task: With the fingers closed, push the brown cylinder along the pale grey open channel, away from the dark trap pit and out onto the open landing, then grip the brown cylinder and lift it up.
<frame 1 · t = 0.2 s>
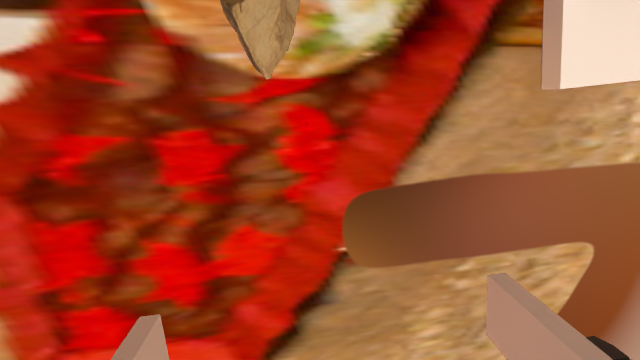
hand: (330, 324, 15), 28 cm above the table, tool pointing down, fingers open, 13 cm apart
rock: (279, 20, 38), on the table
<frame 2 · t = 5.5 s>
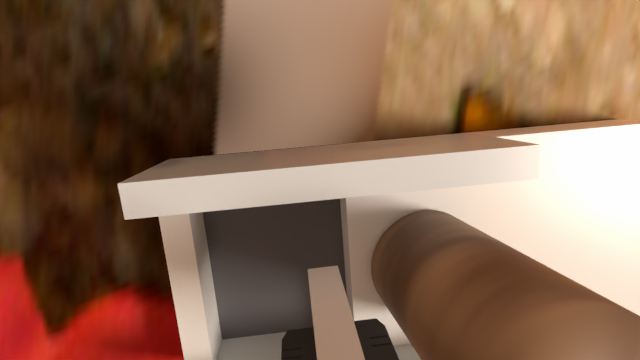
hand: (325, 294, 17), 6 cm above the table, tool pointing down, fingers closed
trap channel: (405, 241, 23), on the table
brown cylinder: (424, 263, 20), point 3 cm above the table, touching gripper, hand, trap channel
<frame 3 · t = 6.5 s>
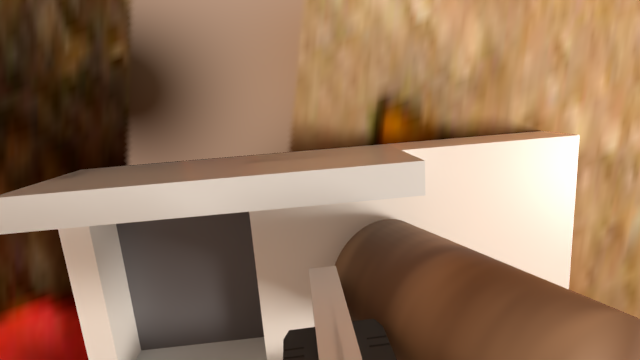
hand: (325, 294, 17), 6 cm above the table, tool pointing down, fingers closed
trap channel: (327, 253, 23), on the table
brown cylinder: (382, 275, 19), point 4 cm above the table, tilted 21°, touching gripper, hand, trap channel
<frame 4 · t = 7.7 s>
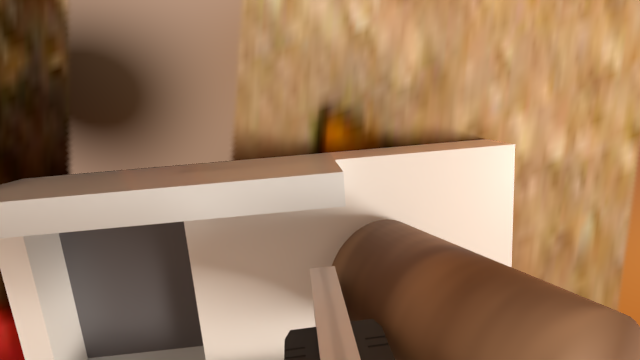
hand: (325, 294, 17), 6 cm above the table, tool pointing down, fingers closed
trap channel: (272, 261, 23), on the table
brown cylinder: (379, 275, 19), point 4 cm above the table, tilted 22°, touching gripper, hand, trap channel
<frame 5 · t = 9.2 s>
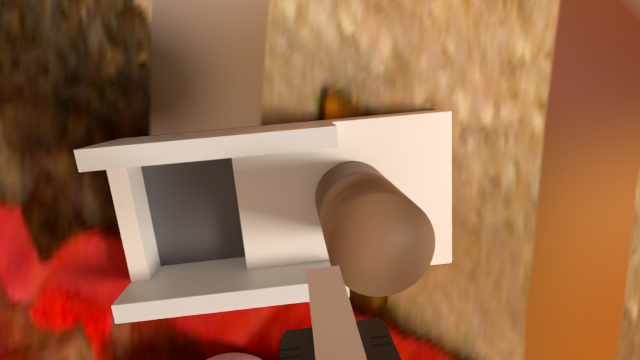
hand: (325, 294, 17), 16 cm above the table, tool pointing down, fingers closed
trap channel: (289, 197, 33), on the table
brown cylinder: (351, 197, 30), point 3 cm above the table, touching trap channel
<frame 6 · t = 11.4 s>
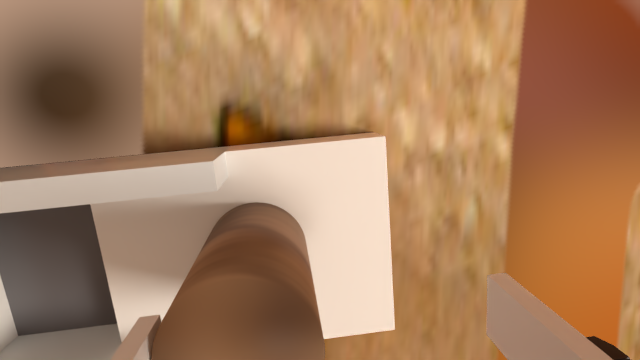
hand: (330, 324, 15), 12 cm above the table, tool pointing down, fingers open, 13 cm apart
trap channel: (186, 245, 25), on the table
brown cylinder: (257, 249, 23), point 3 cm above the table, touching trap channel
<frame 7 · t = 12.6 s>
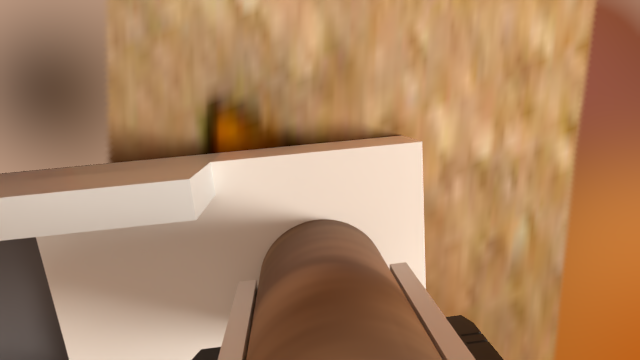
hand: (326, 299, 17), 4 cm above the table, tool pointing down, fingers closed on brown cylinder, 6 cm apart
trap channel: (166, 276, 20), on the table
brown cylinder: (322, 278, 18), point 3 cm above the table, touching gripper, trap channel
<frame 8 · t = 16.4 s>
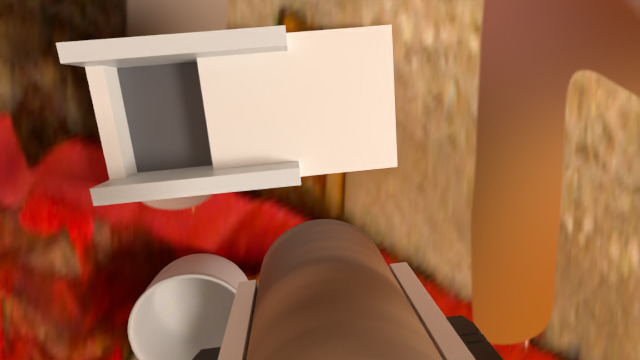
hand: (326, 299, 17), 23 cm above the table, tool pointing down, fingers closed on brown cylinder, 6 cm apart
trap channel: (252, 110, 37), on the table
brown cylinder: (322, 278, 18), point 21 cm above the table, touching gripper
teacup: (207, 299, 41), on the table
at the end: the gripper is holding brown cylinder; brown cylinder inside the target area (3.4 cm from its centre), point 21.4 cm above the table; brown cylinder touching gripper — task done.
